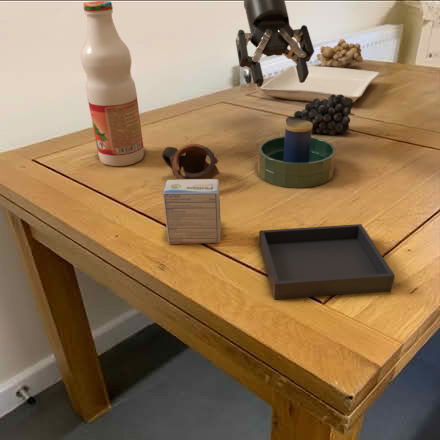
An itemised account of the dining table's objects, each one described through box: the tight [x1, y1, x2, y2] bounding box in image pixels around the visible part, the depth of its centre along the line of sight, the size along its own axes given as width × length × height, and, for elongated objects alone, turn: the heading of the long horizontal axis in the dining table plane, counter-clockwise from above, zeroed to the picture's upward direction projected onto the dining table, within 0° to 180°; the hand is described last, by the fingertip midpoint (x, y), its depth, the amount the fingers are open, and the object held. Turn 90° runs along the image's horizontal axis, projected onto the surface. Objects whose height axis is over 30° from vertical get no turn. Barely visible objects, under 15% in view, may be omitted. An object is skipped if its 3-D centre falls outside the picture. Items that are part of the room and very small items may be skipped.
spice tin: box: [283, 120, 313, 163], centre depth 86 cm, size 5×5×9 cm
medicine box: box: [162, 178, 222, 245], centre depth 69 cm, size 8×4×9 cm, turn 88°
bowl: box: [257, 135, 337, 189], centre depth 88 cm, size 14×14×5 cm
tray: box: [258, 223, 395, 300], centre depth 64 cm, size 15×13×2 cm
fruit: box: [285, 94, 356, 136], centre depth 105 cm, size 9×8×15 cm
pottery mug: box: [161, 143, 221, 180], centre depth 86 cm, size 12×10×8 cm
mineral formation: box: [316, 38, 364, 68], centre depth 154 cm, size 8×13×15 cm
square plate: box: [259, 65, 380, 103], centre depth 132 cm, size 27×27×4 cm
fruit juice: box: [80, 0, 145, 167], centre depth 89 cm, size 9×9×28 cm
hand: (282, 82), depth 87 cm, fingers open, 8 cm apart
